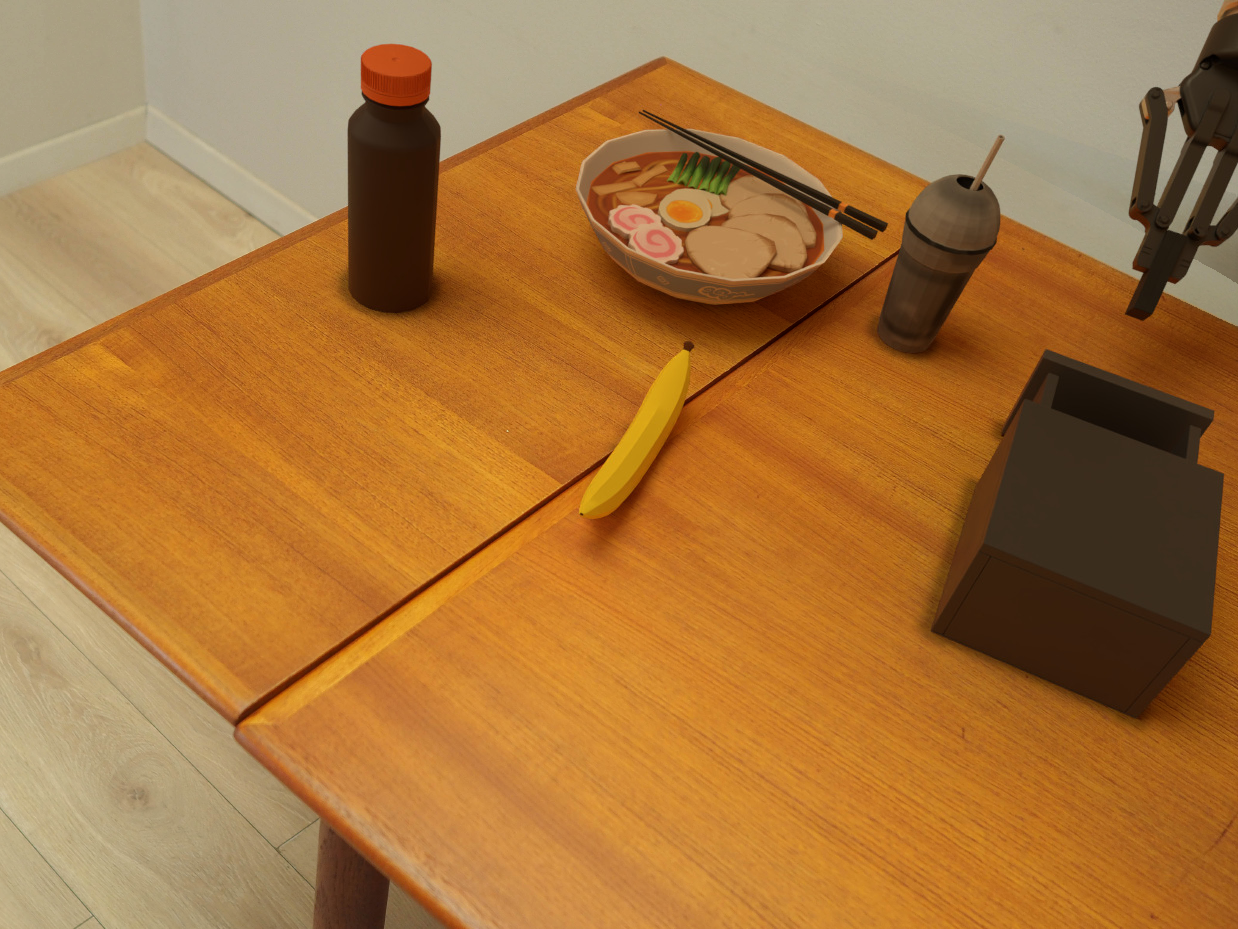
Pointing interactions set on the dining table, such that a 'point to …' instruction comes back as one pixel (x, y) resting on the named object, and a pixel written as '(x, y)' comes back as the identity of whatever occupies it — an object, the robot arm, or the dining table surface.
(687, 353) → the banana
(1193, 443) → the drawer
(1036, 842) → the dining table surface
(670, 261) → the ramen bowl
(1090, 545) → the cabinet
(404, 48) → the bottle
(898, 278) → the beverage cup
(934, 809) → the dining table surface
